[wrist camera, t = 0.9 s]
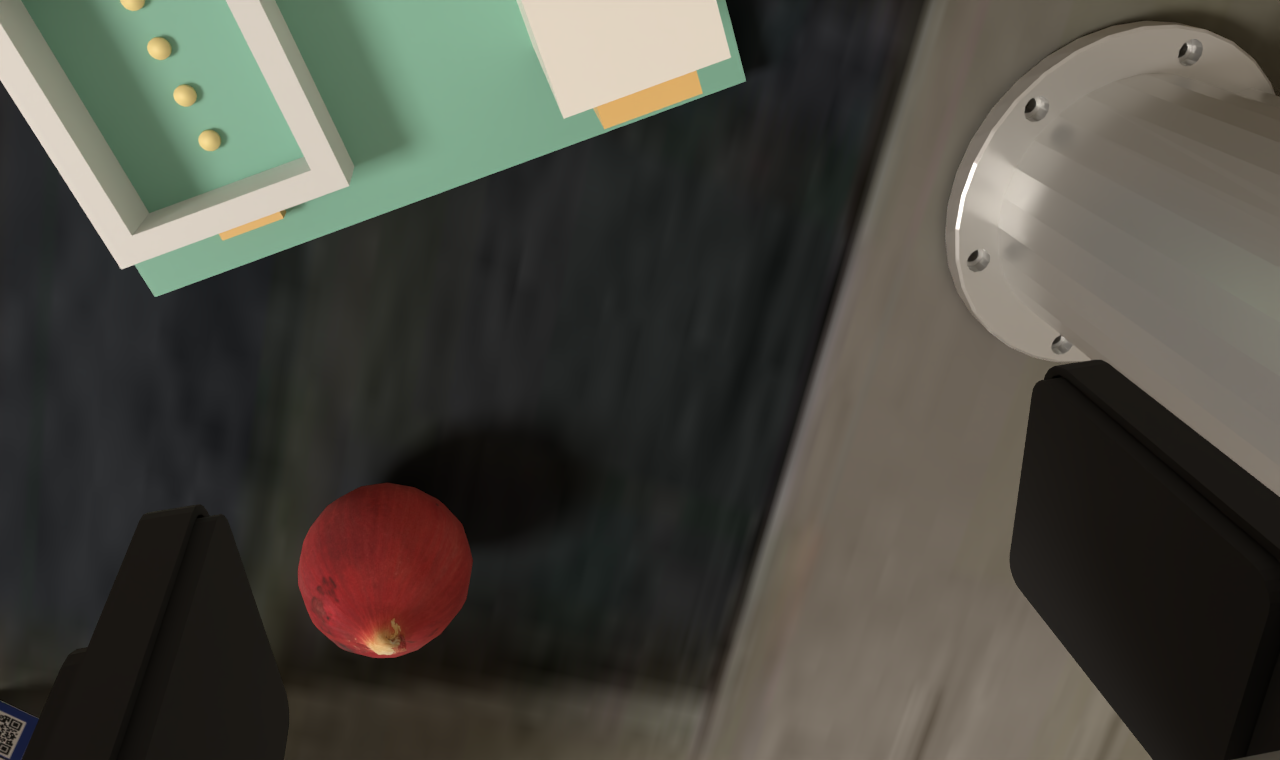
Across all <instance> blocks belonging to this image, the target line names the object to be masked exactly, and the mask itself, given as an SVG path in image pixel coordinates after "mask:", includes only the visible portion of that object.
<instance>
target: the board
mask: <svg viewBox="0 0 1280 760" xmlns="http://www.w3.org/2000/svg"><path fill="white" fill-rule="evenodd" d="M716 1H717V5H718V9H719V13H720V17H721V20H722V24H723V28H724V32H725V36H726V40H727V43H728V47H729V51H730V55H731V58H729V59H726V60H723V61H721V62H718V63H715V64H712V65H710V66H707V67H704V68H701V69H699V70H696V71H697V74H698V78H699V81H700V85H701V89H702V92H703V94H700V95H697V96H694V97H692V98H689V99H686V100H683V101H681V102H678V103H675V104H673V105H670V106H667V107H664V108H662V109H659V110H656V111H653V112H651V113H648V114H645V115H642V116H640V117H637V118H634V119H631V120H629V121H626V122H623V123H621V124H618V125H615V126H612V127H610V128H607V129H604V128H603V126H602V124H601V122H600V120H599V119H598V117H597V115H596V113H595V111H594V109H593V108H592V109H589V110H587V111H584V112H581V113H578V114H576V115H573V116H570V117H567V118H565V119H564V118H563V116H562V114H561V111H560V109H559V107H558V104H557V102H556V99H555V97H554V95H553V92H552V90H551V88H550V85H549V83H548V81H547V78H546V76H545V74H544V71H543V69H542V67H541V64H540V62H539V59H538V57H537V55H536V52H535V50H534V48H533V45H532V42H531V40H530V37H529V34H528V31H527V29H526V26H525V23H524V20H523V17H522V15H521V12H520V9H519V6H518V3H517V1H516V0H0V80H1V82H2V83H3V85H4V86H5V88H6V89H7V91H8V93H9V94H10V96H11V97H12V99H13V100H14V102H15V104H16V105H17V107H18V108H19V110H20V111H21V113H22V115H23V116H24V118H25V119H26V121H27V122H28V124H29V125H30V127H31V129H32V130H33V132H34V133H35V135H36V136H37V138H38V140H39V141H40V143H41V144H42V146H43V147H44V149H45V151H46V152H47V154H48V155H49V157H50V158H51V160H52V162H53V163H54V165H55V166H56V168H57V169H58V171H59V173H60V174H61V176H62V177H63V179H64V180H65V182H66V183H67V185H68V187H69V188H70V190H71V191H72V193H73V194H74V196H75V198H76V199H77V201H78V202H79V204H80V205H81V207H82V209H83V210H84V212H85V213H86V215H87V216H88V218H89V220H90V221H91V223H92V224H93V226H94V227H95V229H96V231H97V232H98V234H99V235H100V237H101V238H102V240H103V241H104V243H105V245H106V246H107V248H108V249H109V251H110V252H111V254H112V256H113V257H114V259H115V260H116V262H117V263H118V265H119V267H120V268H121V269H124V268H126V267H129V266H132V265H135V266H136V268H137V269H138V271H139V273H140V274H141V276H142V277H143V279H144V281H145V282H146V284H147V285H148V287H149V288H150V290H151V292H152V293H153V295H154V296H155V297H157V296H159V295H162V294H165V293H168V292H170V291H173V290H176V289H179V288H181V287H184V286H187V285H190V284H192V283H195V282H198V281H201V280H203V279H206V278H209V277H211V276H214V275H217V274H220V273H222V272H225V271H228V270H231V269H233V268H236V267H239V266H242V265H244V264H247V263H250V262H252V261H255V260H258V259H261V258H263V257H266V256H269V255H272V254H274V253H277V252H280V251H283V250H285V249H288V248H291V247H294V246H296V245H299V244H302V243H304V242H307V241H310V240H313V239H315V238H318V237H321V236H324V235H326V234H329V233H332V232H335V231H337V230H340V229H343V228H345V227H348V226H351V225H354V224H356V223H359V222H362V221H365V220H367V219H370V218H373V217H376V216H378V215H381V214H384V213H387V212H389V211H392V210H395V209H397V208H400V207H403V206H406V205H408V204H411V203H414V202H417V201H419V200H422V199H425V198H428V197H430V196H433V195H436V194H438V193H441V192H444V191H447V190H449V189H452V188H455V187H458V186H460V185H463V184H466V183H469V182H471V181H474V180H477V179H479V178H482V177H485V176H488V175H490V174H493V173H496V172H499V171H501V170H504V169H507V168H510V167H512V166H515V165H518V164H521V163H523V162H526V161H529V160H531V159H534V158H537V157H540V156H542V155H545V154H548V153H551V152H553V151H556V150H559V149H562V148H564V147H567V146H570V145H572V144H575V143H578V142H581V141H583V140H586V139H589V138H592V137H594V136H597V135H600V134H603V133H605V132H608V131H611V130H614V129H616V128H619V127H622V126H624V125H627V124H630V123H633V122H635V121H638V120H641V119H644V118H646V117H649V116H652V115H655V114H657V113H660V112H663V111H665V110H668V109H671V108H674V107H676V106H679V105H682V104H685V103H687V102H690V101H693V100H696V99H698V98H701V97H704V96H706V95H709V94H712V93H715V92H717V91H720V90H723V89H726V88H728V87H731V86H734V85H737V84H739V83H742V82H745V81H746V79H745V75H744V71H743V67H742V63H741V59H740V55H739V51H738V47H737V43H736V40H735V36H734V32H733V28H732V24H731V20H730V16H729V12H728V8H727V4H726V0H716Z"/></svg>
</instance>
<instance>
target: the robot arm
mask: <svg viewBox="0 0 1280 760" xmlns="http://www.w3.org/2000/svg"><path fill="white" fill-rule="evenodd" d="M1028 102H1029V104H1028V106H1027V107H1026V108H1025V106H1026V105H1027V103H1028ZM945 241H946V250H947V259H948V267H949V269H950V272H951V275H952V278H953V281H954V284H955V287H956V290H957V292H958V294H959V296H960V297H961V299H962V300H963V302H964V304H965V305H966V307H967V308H968V310H969V311H970V313H971V314H972V315H973V316H974V317H975V318H976V319H977V320H978V321H979V322H980V323H981V324H982V325H983V326H984V327H985V328H986V329H987V330H988V331H989V332H990V333H991V334H993V335H994V336H995V337H997V338H998V339H999V340H1001V341H1002V342H1003V343H1005V344H1006V345H1007V346H1009V347H1010V348H1013V349H1015V350H1017V351H1020V352H1022V353H1024V354H1027V355H1029V356H1031V357H1034V358H1038V359H1043V360H1048V361H1052V362H1077V363H1071V364H1065V365H1059V366H1054V367H1052V368H1050V369H1049V370H1048V372H1047V373H1046V375H1045V378H1044V380H1041V381H1039V382H1037V383H1036V385H1035V386H1034V388H1033V392H1032V398H1031V405H1030V413H1029V420H1028V427H1027V434H1026V442H1025V449H1024V456H1023V463H1022V471H1021V478H1020V485H1019V492H1018V500H1017V507H1016V514H1015V521H1014V528H1013V536H1012V543H1011V550H1010V568H1011V572H1012V576H1013V578H1014V581H1015V583H1016V585H1017V586H1018V588H1019V589H1020V590H1021V592H1022V593H1023V594H1024V596H1025V597H1026V598H1027V599H1028V601H1029V602H1030V603H1031V604H1032V606H1033V607H1034V608H1035V610H1036V611H1037V612H1038V613H1039V615H1040V616H1041V617H1042V619H1043V620H1044V621H1045V622H1046V624H1047V625H1048V626H1049V627H1050V629H1051V630H1052V631H1053V633H1054V634H1055V635H1056V636H1057V638H1058V639H1059V640H1060V641H1061V643H1062V644H1063V645H1064V647H1065V648H1066V649H1067V650H1068V652H1069V653H1070V654H1071V656H1072V657H1073V658H1074V659H1075V661H1076V662H1077V663H1078V664H1079V666H1080V667H1081V668H1082V670H1083V671H1084V672H1085V673H1086V675H1087V676H1088V677H1089V678H1090V680H1091V681H1092V682H1093V684H1094V685H1095V686H1096V687H1097V689H1098V690H1099V691H1100V692H1101V694H1102V695H1103V696H1104V698H1105V699H1106V700H1107V701H1108V703H1109V704H1110V705H1111V707H1112V708H1113V709H1114V710H1115V712H1116V713H1117V714H1118V715H1119V717H1120V718H1121V719H1122V721H1123V722H1124V723H1125V724H1126V726H1127V727H1128V728H1129V729H1130V731H1131V732H1132V733H1133V735H1134V736H1135V737H1136V738H1137V740H1138V741H1139V742H1140V744H1141V745H1142V746H1143V747H1144V749H1145V750H1146V751H1147V752H1148V754H1149V755H1150V756H1151V758H1152V759H1153V760H1280V97H1279V96H1276V95H1275V92H1274V90H1273V87H1272V84H1271V82H1270V81H1269V79H1268V78H1267V76H1266V75H1265V74H1264V72H1263V71H1262V69H1261V68H1260V66H1259V65H1258V64H1257V62H1256V61H1255V59H1253V58H1252V57H1251V56H1250V55H1249V54H1247V53H1246V52H1245V51H1244V50H1243V49H1241V48H1240V47H1239V46H1238V45H1236V44H1235V43H1234V42H1233V41H1230V40H1228V39H1226V38H1224V37H1222V36H1219V35H1217V34H1215V33H1213V32H1210V31H1208V30H1206V29H1201V28H1197V27H1193V26H1189V25H1185V24H1181V23H1177V22H1161V21H1140V22H1134V23H1128V24H1121V25H1115V26H1111V27H1108V28H1105V29H1103V30H1100V31H1097V32H1094V33H1092V34H1089V35H1086V36H1083V37H1081V38H1078V39H1076V40H1075V41H1073V42H1071V43H1070V44H1068V45H1066V46H1064V47H1063V48H1061V49H1059V50H1057V51H1056V52H1054V53H1052V54H1050V55H1049V56H1047V57H1046V58H1044V59H1043V60H1042V61H1041V62H1039V63H1038V64H1037V65H1036V66H1035V67H1033V68H1032V69H1031V70H1030V71H1028V72H1027V73H1026V74H1025V75H1024V76H1022V77H1021V78H1020V79H1019V80H1017V81H1016V82H1015V84H1014V85H1013V86H1012V87H1011V88H1010V89H1009V90H1008V91H1007V92H1006V94H1005V95H1004V96H1003V97H1002V98H1001V99H1000V100H999V101H998V102H997V104H996V105H995V106H994V107H993V108H992V109H991V111H990V112H989V114H988V115H987V117H986V118H985V120H984V121H983V123H982V124H981V126H980V127H979V129H978V130H977V132H976V133H975V135H974V136H973V138H972V140H971V141H970V144H969V146H968V148H967V150H966V152H965V155H964V157H963V159H962V161H961V163H960V166H959V168H958V170H957V172H956V176H955V180H954V183H953V187H952V191H951V194H950V198H949V202H948V206H947V219H946V231H945ZM971 253H972V254H971ZM970 254H971V255H970ZM288 728H289V708H288V700H287V695H286V691H285V688H284V685H283V682H282V679H281V676H280V673H279V670H278V667H277V665H276V662H275V659H274V656H273V653H272V650H271V647H270V644H269V641H268V638H267V635H266V632H265V629H264V626H263V623H262V620H261V617H260V614H259V611H258V608H257V605H256V602H255V599H254V596H253V593H252V590H251V587H250V585H249V582H248V579H247V576H246V573H245V570H244V567H243V564H242V561H241V558H240V555H239V552H238V549H237V546H236V543H235V540H234V537H233V534H232V531H231V528H230V525H229V523H228V521H227V519H226V518H225V516H224V515H222V514H220V515H214V516H209V514H208V512H207V510H206V509H205V508H204V506H202V505H200V504H199V505H193V506H186V507H180V508H174V509H168V510H162V511H155V512H149V513H146V514H144V515H143V516H142V518H141V519H140V521H139V523H138V526H137V528H136V531H135V533H134V536H133V538H132V540H131V543H130V545H129V548H128V550H127V553H126V555H125V558H124V560H123V562H122V565H121V567H120V570H119V572H118V575H117V577H116V580H115V582H114V584H113V587H112V589H111V592H110V594H109V597H108V599H107V602H106V604H105V606H104V609H103V611H102V614H101V616H100V619H99V621H98V624H97V626H96V628H95V631H94V633H93V636H92V638H91V641H90V643H89V645H88V647H86V648H81V649H77V650H75V651H74V652H72V653H71V654H69V655H68V657H67V659H66V660H65V662H64V663H63V665H62V667H61V669H60V671H59V674H58V676H57V678H56V681H55V683H54V685H53V688H52V690H51V692H50V695H49V697H48V699H47V702H46V704H45V706H44V709H43V711H42V713H41V715H40V718H39V720H38V722H37V725H36V727H35V729H34V732H33V734H32V736H31V739H30V741H29V743H28V746H27V748H26V750H25V753H24V755H23V757H22V760H284V755H285V748H286V741H287V735H288Z"/></svg>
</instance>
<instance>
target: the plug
mask: <svg viewBox="0 0 1280 760" xmlns="http://www.w3.org/2000/svg"><path fill="white" fill-rule="evenodd" d="M516 1H517V3H518V6H519V9H520V12H521V15H522V17H523V20H524V23H525V26H526V29H527V31H528V34H529V37H530V40H531V42H532V45H533V48H534V50H535V52H536V55H537V57H538V59H539V62H540V64H541V67H542V69H543V71H544V74H545V76H546V78H547V81H548V83H549V85H550V88H551V90H552V92H553V95H554V97H555V99H556V102H557V104H558V107H559V109H560V111H561V114H562V116H563V118H564V119H565V118H567V117H570V116H573V115H576V114H578V113H581V112H584V111H587V110H589V109H592V108H593V109H594V111H595V113H596V115H597V117H598V119H599V120H600V122H601V124H602V126H603V128H604V129H607V128H610V127H612V126H615V125H618V124H621V123H623V122H626V121H629V120H631V119H634V118H637V117H640V116H642V115H645V114H648V113H651V112H653V111H656V110H659V109H662V108H664V107H667V106H670V105H673V104H675V103H678V102H681V101H683V100H686V99H689V98H692V97H694V96H697V95H700V94H703V92H702V89H701V85H700V81H699V78H698V74H697V71H696V70H699V69H701V68H704V67H707V66H710V65H712V64H715V63H718V62H721V61H723V60H726V59H729V58H731V55H730V51H729V47H728V43H727V40H726V36H725V32H724V28H723V24H722V20H721V17H720V13H719V9H718V5H717V1H716V0H516Z"/></svg>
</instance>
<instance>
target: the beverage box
mask: <svg viewBox="0 0 1280 760" xmlns="http://www.w3.org/2000/svg"><path fill="white" fill-rule="evenodd" d="M38 720H39V718H37V717H35V716H33V715H31V714H29V713H26V712H24V711H22V710H20V709H18V708H16V707H14V706H11V705H9V704H7V703H5V702H3V701H1V700H0V760H22V757H23V755H24V753H25V750H26V748H27V746H28V743H29V741H30V739H31V736H32V734H33V732H34V729H35V727H36V725H37V722H38Z"/></svg>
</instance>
